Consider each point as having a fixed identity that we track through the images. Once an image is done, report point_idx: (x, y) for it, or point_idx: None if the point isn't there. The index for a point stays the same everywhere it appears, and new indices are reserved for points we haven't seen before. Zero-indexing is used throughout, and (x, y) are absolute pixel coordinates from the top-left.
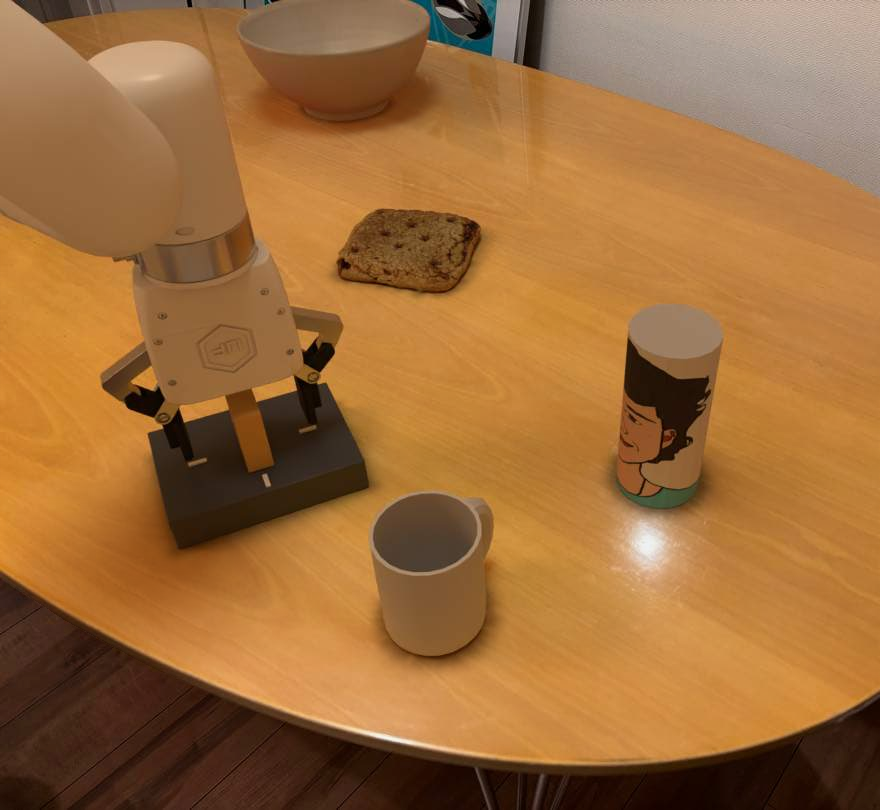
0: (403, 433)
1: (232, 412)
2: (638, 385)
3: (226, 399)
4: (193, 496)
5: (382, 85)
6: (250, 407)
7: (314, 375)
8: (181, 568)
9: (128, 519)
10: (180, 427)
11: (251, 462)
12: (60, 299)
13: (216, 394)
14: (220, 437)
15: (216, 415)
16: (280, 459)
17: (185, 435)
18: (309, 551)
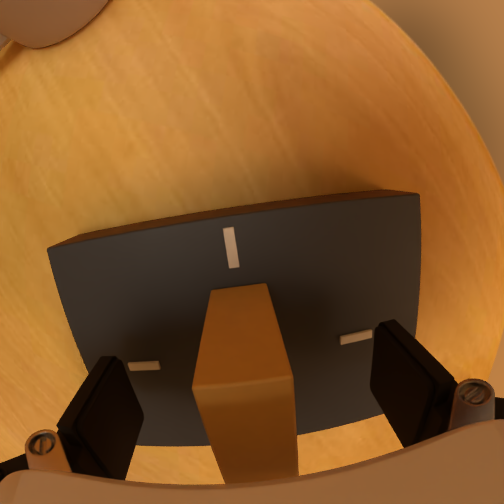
0: (42, 329)
1: (290, 410)
2: None
3: (297, 455)
4: (377, 248)
5: None
6: (226, 418)
7: (37, 446)
8: (383, 150)
9: (433, 276)
10: (432, 373)
11: (257, 294)
12: None
13: (365, 480)
14: (306, 387)
15: (303, 430)
16: (198, 305)
17: (410, 361)
18: (185, 114)
